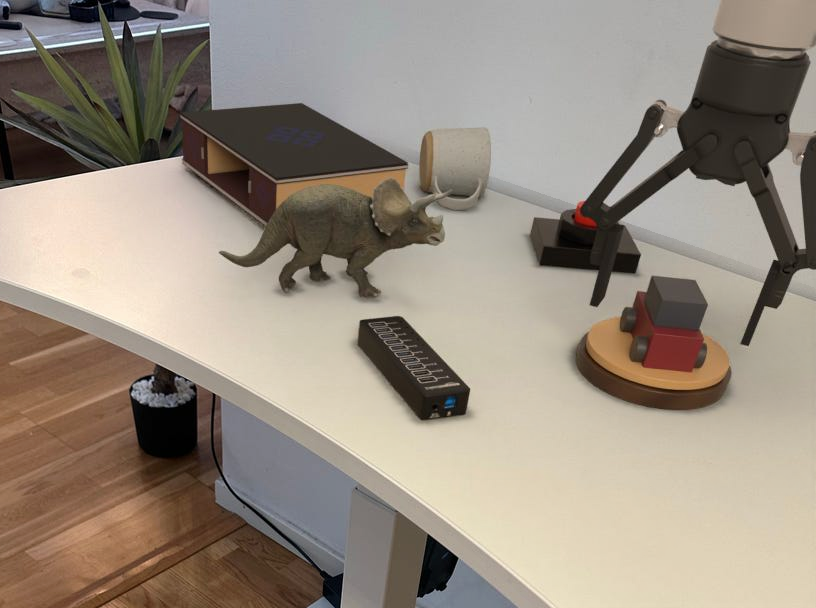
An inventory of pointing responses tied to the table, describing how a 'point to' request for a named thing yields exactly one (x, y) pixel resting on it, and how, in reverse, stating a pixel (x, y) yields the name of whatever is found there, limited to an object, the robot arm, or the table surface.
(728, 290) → the table surface
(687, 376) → the toy car
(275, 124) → the miniature wooden cabinet
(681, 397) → the turntable base
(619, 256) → the control box
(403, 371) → the multiport hub
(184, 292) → the table surface
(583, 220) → the button
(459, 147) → the ceramic mug
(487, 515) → the table surface
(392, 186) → the toy dinosaur
